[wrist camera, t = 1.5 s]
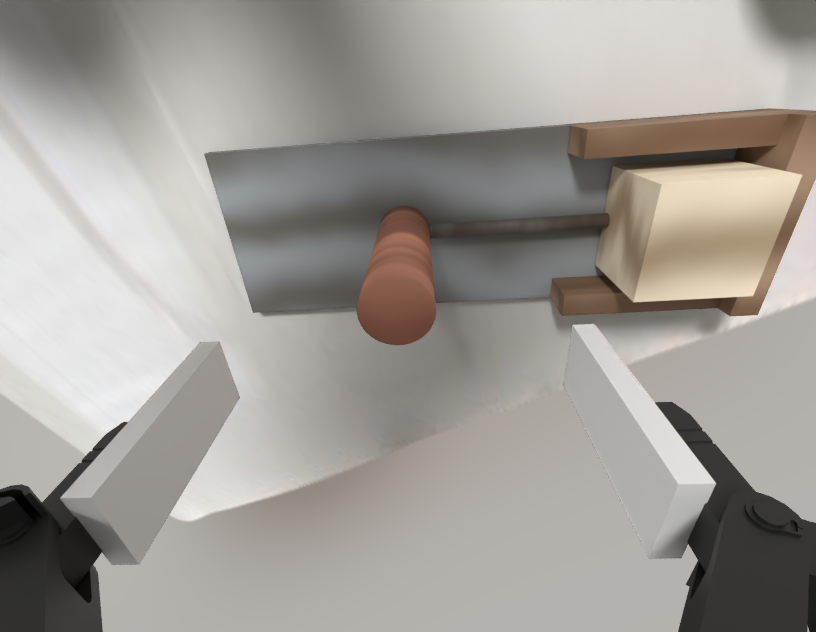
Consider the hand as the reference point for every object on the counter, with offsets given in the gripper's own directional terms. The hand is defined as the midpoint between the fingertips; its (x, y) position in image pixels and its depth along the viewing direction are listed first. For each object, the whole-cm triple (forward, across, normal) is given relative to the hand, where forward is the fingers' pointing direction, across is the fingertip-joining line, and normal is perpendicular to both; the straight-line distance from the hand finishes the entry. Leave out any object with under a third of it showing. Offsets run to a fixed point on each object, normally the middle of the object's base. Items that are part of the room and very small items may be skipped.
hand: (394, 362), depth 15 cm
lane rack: (+17, +5, 0) cm, 17 cm away
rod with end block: (+16, +9, 0) cm, 18 cm away
